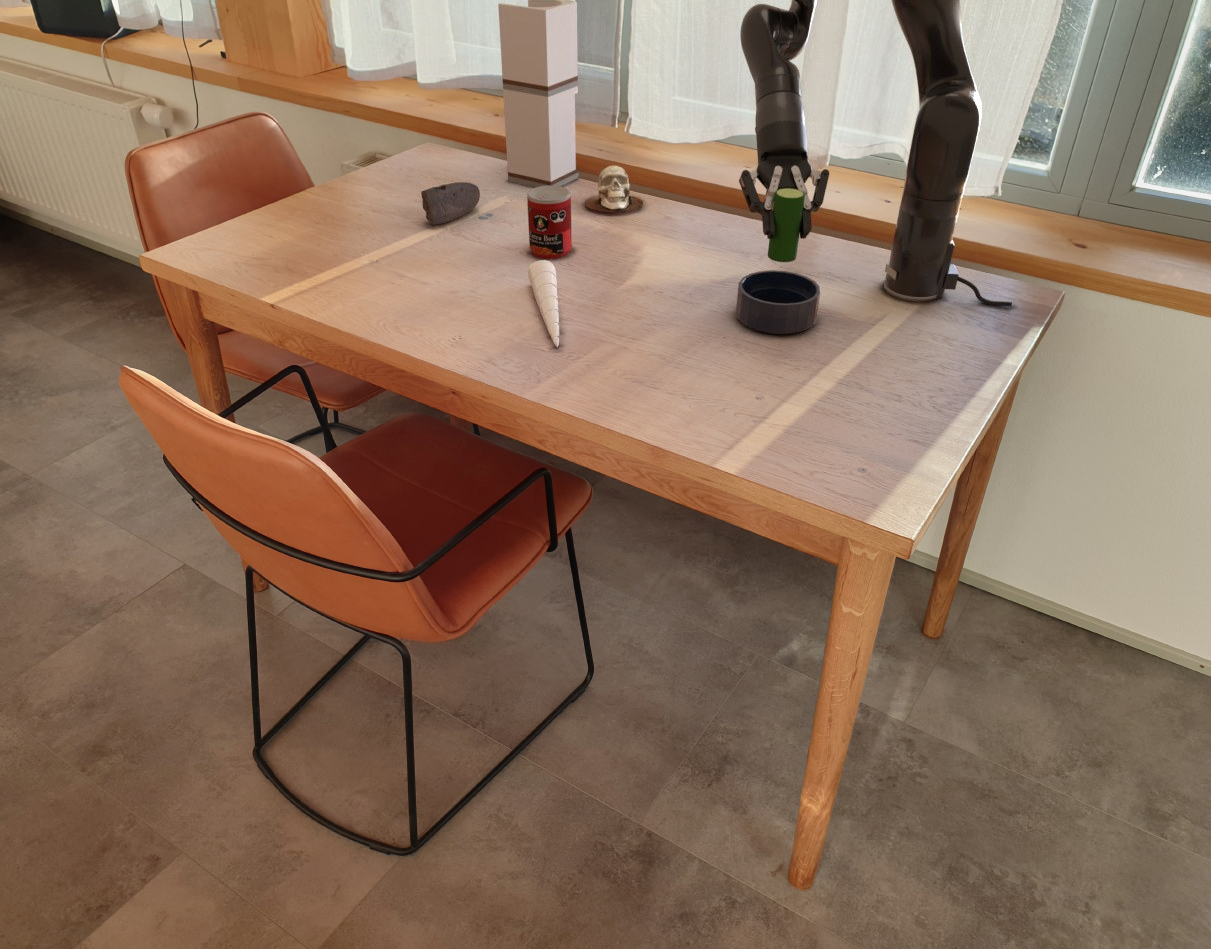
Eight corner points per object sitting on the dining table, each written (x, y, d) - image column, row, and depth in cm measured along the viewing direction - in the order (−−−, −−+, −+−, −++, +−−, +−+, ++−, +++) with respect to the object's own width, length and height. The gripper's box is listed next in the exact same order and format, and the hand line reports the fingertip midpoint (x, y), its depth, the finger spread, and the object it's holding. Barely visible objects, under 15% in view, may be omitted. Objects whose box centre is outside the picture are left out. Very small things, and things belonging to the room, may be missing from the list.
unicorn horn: (532, 350, 142) (531, 322, 139) (528, 285, 161) (527, 258, 158) (563, 349, 142) (563, 321, 140) (556, 284, 162) (555, 257, 159)
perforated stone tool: (472, 204, 192) (469, 171, 188) (489, 210, 189) (487, 176, 185) (415, 225, 183) (411, 190, 179) (432, 231, 180) (429, 196, 176)
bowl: (813, 303, 156) (817, 272, 153) (818, 339, 146) (823, 307, 142) (735, 299, 157) (738, 268, 154) (735, 334, 147) (738, 302, 143)
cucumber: (795, 251, 147) (804, 188, 141) (796, 263, 143) (805, 199, 137) (767, 250, 147) (774, 187, 141) (767, 261, 143) (775, 197, 138)
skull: (650, 210, 187) (615, 173, 182) (611, 243, 191) (577, 207, 186) (647, 187, 196) (614, 151, 191) (610, 219, 200) (577, 185, 196)
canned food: (522, 255, 171) (519, 196, 165) (541, 240, 177) (539, 182, 171) (560, 262, 169) (559, 202, 162) (578, 246, 175) (577, 188, 168)
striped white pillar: (578, 177, 206) (576, 1, 185) (551, 191, 199) (545, 10, 178) (536, 168, 211) (530, -4, 190) (508, 181, 204) (498, 4, 183)
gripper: (739, 118, 140) (746, 227, 137) (833, 118, 140) (842, 226, 138) (730, 143, 147) (736, 247, 144) (819, 143, 148) (827, 246, 145)
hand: (787, 236), depth 141 cm, fingers closed on cucumber, 4 cm apart
